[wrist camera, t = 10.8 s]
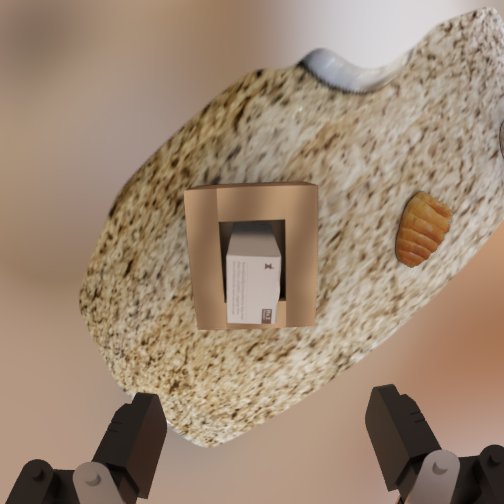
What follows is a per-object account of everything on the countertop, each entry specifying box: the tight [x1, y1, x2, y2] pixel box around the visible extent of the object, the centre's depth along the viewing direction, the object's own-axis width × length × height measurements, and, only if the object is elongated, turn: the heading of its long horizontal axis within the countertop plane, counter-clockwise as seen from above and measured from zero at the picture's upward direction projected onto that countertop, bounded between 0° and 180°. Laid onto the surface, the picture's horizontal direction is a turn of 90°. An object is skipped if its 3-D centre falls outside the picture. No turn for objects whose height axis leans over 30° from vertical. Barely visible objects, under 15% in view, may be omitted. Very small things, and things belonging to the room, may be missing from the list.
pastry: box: [396, 191, 452, 268], centre depth 32 cm, size 9×7×4 cm
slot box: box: [184, 182, 318, 330], centre depth 31 cm, size 12×14×7 cm
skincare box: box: [226, 222, 281, 324], centre depth 29 cm, size 6×4×12 cm
